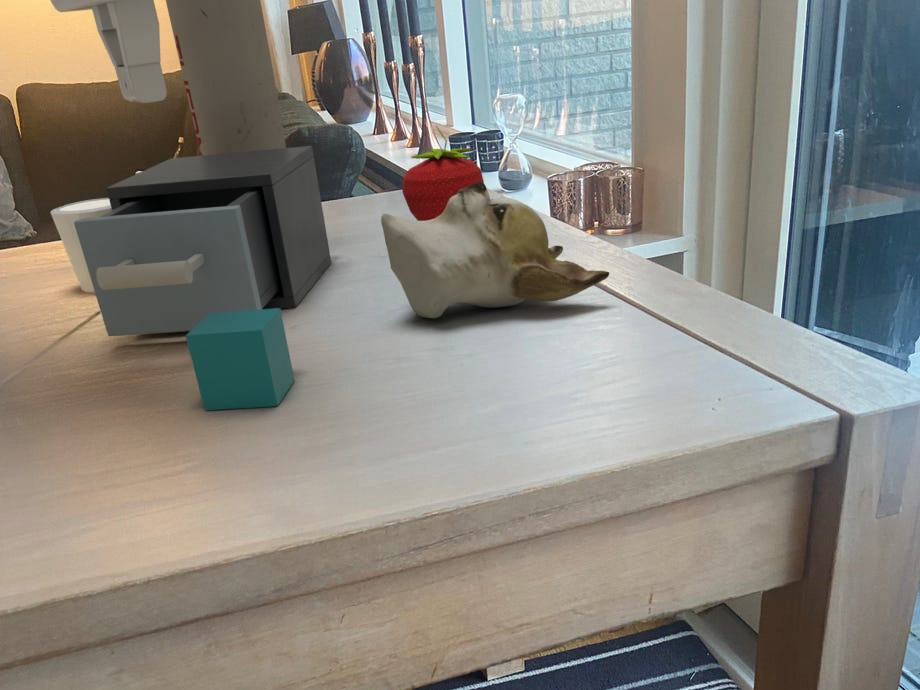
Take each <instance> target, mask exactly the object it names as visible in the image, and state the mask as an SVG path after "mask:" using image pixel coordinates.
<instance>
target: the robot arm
mask: <svg viewBox="0 0 920 690" xmlns="http://www.w3.org/2000/svg"><path fill="white" fill-rule="evenodd" d="M49 1H50V3H51V4H52V6H53V7H54V10H55V11H57V12H58V13H59V12H60V13H70V12H80V11H81V12H83V11H92V14H93V18H94V21H95V26H96V30H97V32H98V35H99V37H100V39H101V41H102V43H103V46H104V47H105V50H106V53H107V54H108V56H109V59H110V61H111V63H112V66H113V67H114V70H115V73H116V77H117V81H118V85H119V89H120V92H121V95H122V97H123V99H124V100H126V101H127V102H129V103H137V104H138V103H139V104H148V103H149V104H150V103H156V102H161V101H164V100H165V99H166V97H167V95H168V89H167V86H166V82H165V77H164V74H163V69H162V63H161V39H160V38H161V35H160V33H161V32H160V21H159V17H158V13H157V9H156V5H155V0H49Z"/></svg>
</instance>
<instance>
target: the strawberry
mask: <svg viewBox="0 0 920 690" xmlns="http://www.w3.org/2000/svg"><path fill="white" fill-rule="evenodd" d="M435 127H436V130H437V131H438V132H439V134H440V135H441V136H442V138H443V139H444V141H445V142H444V148H432V149H431V151H426V152H423V153H420V154H415V155H412V156H410V157H411V158H410V159H421V160H422V159H424V160H423V161H422V162H420V163H418V164H416V165H414V166H412V167H410V168H408V170H407V171H406V172H405V174H404V176H403V178H402V190H401V191H402V194H403V198H404V200H405V202H406V205H407V207H408V209H409V211H410V214H411V215H412V216H413V218H414V219H416V221H427V220H432V219H434V218H436V217H438V216H439V215H441V214H442V213H443V211H444V210H445V208H446V206H447V203H448V201H449V199H450V198H451V197H452V196H454V195H456V194H457V193H458V191H459V190H460V189H462V188H466V187H468V186H470V185H472V184H474V183H477V182H483V183H484V184H485V180H484V177H483V174H482V169H481V168H480V167H479V165H478V164H476V163H475V161H474V160H470V157H469V156H468V155H465V154H464V153H466V152H467V153H468V152H471V151H472V148H452V149H451V150H447V149H446V148H447V143H448V140H447V138H446V137H445V136H444V133H443V132H442V131H441V130H440V128H439V127H438V126H437V125H435Z"/></svg>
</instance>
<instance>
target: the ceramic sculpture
mask: <svg viewBox="0 0 920 690" xmlns="http://www.w3.org/2000/svg"><path fill="white" fill-rule="evenodd" d="M380 217H381V218H380V223H381V227H382V232H383V235H384V236H383V237H384V242H385V246H386V250H387V254H388V259H389V264H390V269H391V271H392V272H393V274H394V275H395V277H396V278H397V279H398V282H399V283H400V285H401V287H402V289H403V292H404V294H405V296H406V298H407V301H408V303H409V306H410V307H411V309H412V310H413V312H414V313H416V314H417V315H418V316H419V317H423V318H425V319H437V318H439V317H441V316H442V315H443V314H444V312H445V311H446V310H447V309H448V308H449V307H450V306H452V305H456V304H468V305H472V306H477V307H480V308H481V307H482V308H493V309H494V308H503V307H509V306H510V307H511V306H517V305H519V304H520V303H522V302H524V301H525V300H531V301H538V302H557V301H560V300H564V299H568V298H569V297H573V296H575V295H578V294H579V293H581V292H583V291H585V290H588V289H590V288H591V287H593V286H595V285H597V284H599V283H601V282H603V281H605V280H606V279H608V277H609V276H610V272H609V271H607V270H593V269H592V270H587V269H586V268H584V267H583V266H581V265H579V264H578V263H575V262H572V261H569V260H557V258H558V257H559V256H560V255H562V253H563V251H564V246H563V245H553V246H550V247H549V242H550V241H549V237H548V231H547V228H546V224H545V223H544V221H543V219H542V217H541V216H540V215H539V213H538V212H537V211H536V210H534V209H533V207H531V206H529V205H528V204H526V203H524V202H522V201H520V200H517V199H515V198H510V197H502V198H495V199H493V198H492V199H491V197H490V194H489V190H488V188H487V186H486V184H485V182H484V183H483V182H477V183H474V184H472V185H470V186H468V187H466V188H462V189H460V190H459V191H458V193H457V194H456V195H454V196H452V197H451V198H450V199H449V201H448V203H447V206H446V208H445V210H444V211H443V213H442V214H441V215H439V216H438V217H436V218H434V219H432V220H427V221H418V220H415V219H412V218H409V217H408V218H407V217H405V216H404V217H403V216H394V215H391V214H388V213H383V214H382V215H381V216H380Z"/></svg>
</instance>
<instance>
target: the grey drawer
mask: <svg viewBox="0 0 920 690" xmlns="http://www.w3.org/2000/svg"><path fill="white" fill-rule="evenodd" d="M262 187H263V186H260V187H248V188H237V189H225V190H213V191H202V192H190V193H178V194H167V195H155V196H143V197H137V198H135V199H133V200H131V201H130V202H128V203H126V204H124V205H122V206H120V207H118V208H116V209H114V210H112V211H110V212H108V213H106V214H104V215H102V216H100V217H93V218H81V219H79V220H77V221H75V222H74V225H75V228H76V232H77V235H78V238H79V241H80V245H81V248H82V251H83V255H84V258H85V261H86V264H87V268H88V271H89V274H90V278H91V281H92V284H93V288H94V291H95V293H94V294H95V297H96V301H97V304H98V307H99V311H100V313H101V317H102V320H103V323H104V327H105V330H106V334H107V336H108V337H123V336H135V335H136V336H137V335H149V334H151V335H152V334H164V333H165V334H166V333H180V332H190V331H191V330H192V329H193V328H194V327H195V326H196V325H197V324H198V323H199V322H200V321H201V320H202V319H203V318H205V317H206V316H207V315H208V314H209V313H219V312H233V311H247V310H261V309H262V308H263V307H264V306H265V305H266V304H267V303H268V302H269V301H270V299H271V298H272V297H273V296H274V295H275V294H276V293H277V292H278V291H279V289H280V288H281V287H282V285H281V280H280V275H279V270H278V264H277V259H276V254H275V249H274V244H273V239H272V234H271V229H270V224H269V219H268V214H267V208H266V203H265V198H264V193H263V188H262Z"/></svg>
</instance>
